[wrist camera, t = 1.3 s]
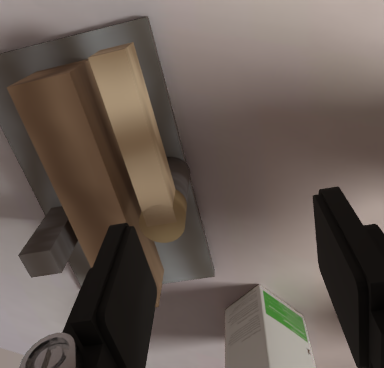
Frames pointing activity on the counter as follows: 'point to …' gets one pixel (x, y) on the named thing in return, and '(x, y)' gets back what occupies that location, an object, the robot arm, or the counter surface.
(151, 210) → the bar
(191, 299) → the counter surface
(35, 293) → the counter surface
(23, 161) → the wooden gate latch
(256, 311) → the skincare box
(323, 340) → the counter surface
